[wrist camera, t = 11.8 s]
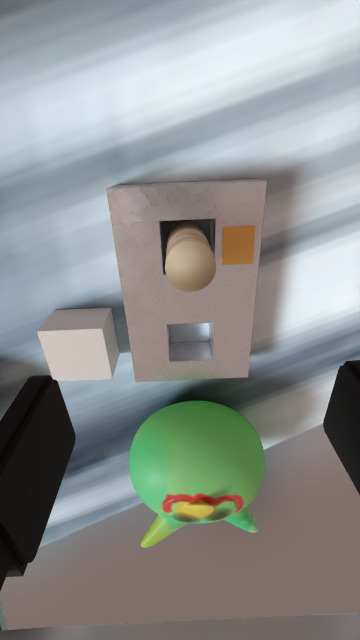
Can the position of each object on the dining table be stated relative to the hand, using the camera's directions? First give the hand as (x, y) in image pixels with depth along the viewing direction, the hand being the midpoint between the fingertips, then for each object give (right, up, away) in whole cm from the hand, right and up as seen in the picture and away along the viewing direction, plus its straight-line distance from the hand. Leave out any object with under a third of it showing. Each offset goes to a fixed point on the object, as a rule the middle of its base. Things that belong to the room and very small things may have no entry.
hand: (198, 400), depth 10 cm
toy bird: (+2, -13, +35) cm, 38 cm away
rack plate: (0, +7, +24) cm, 25 cm away
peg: (0, +12, +21) cm, 24 cm away
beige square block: (-12, +1, +27) cm, 30 cm away
